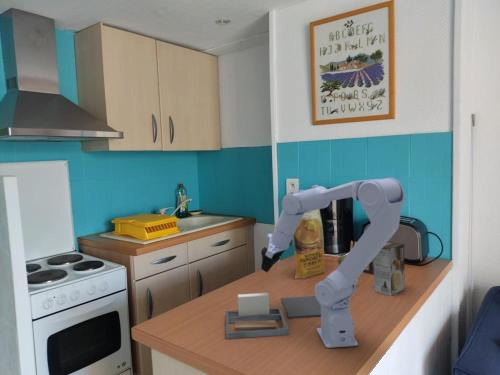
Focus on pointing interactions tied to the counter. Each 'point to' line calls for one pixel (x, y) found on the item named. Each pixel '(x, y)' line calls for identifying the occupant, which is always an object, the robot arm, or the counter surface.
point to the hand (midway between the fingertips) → (269, 264)
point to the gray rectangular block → (253, 304)
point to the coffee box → (389, 269)
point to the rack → (274, 315)
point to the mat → (302, 307)
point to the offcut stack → (255, 325)
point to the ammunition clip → (369, 268)
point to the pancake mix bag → (309, 245)
